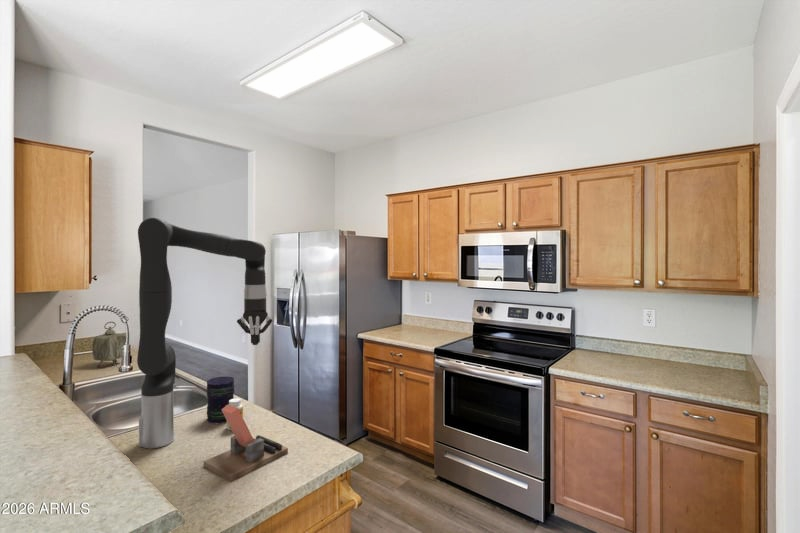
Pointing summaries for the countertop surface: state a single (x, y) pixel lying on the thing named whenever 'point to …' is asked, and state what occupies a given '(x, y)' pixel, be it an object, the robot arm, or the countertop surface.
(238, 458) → the switch board
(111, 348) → the tabletop clock
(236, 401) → the supplement bottle
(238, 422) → the lever
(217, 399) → the storage jar
